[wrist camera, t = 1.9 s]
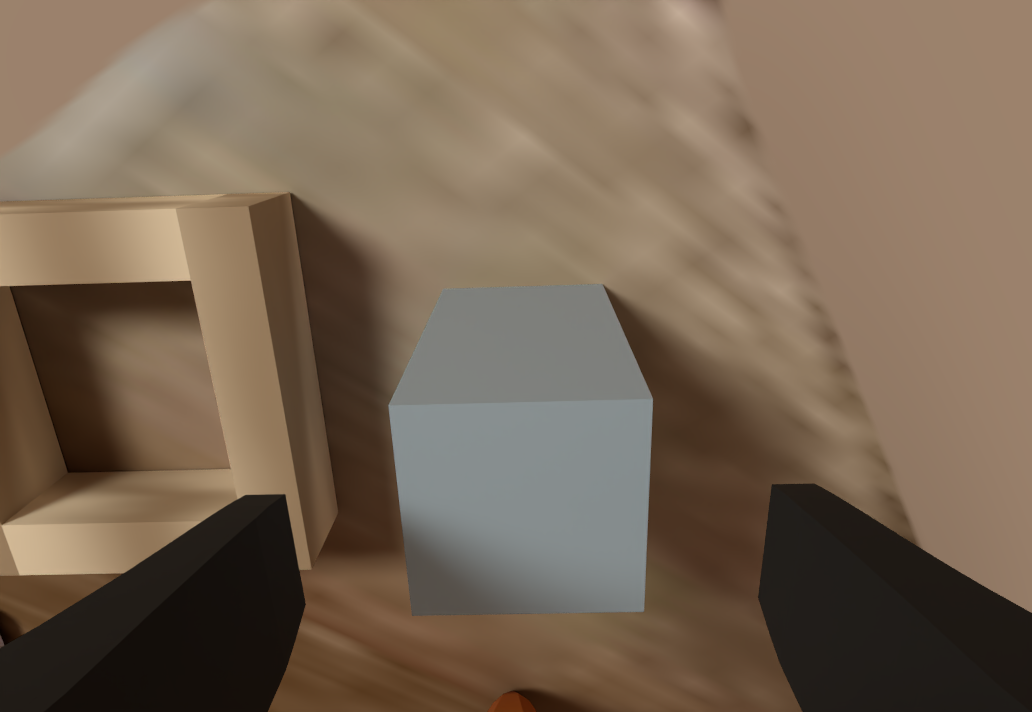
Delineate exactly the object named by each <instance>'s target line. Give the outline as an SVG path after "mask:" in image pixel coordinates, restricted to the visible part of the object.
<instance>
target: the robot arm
mask: <svg viewBox="0 0 1032 712" xmlns="http://www.w3.org/2000/svg"><path fill="white" fill-rule="evenodd" d="M758 598H759V602H760V605H761V608H762V611H763V614H764V617H765V620H766V624H767V627H768V630H769V633H770V636H771V639H772V642H773V645H774V648H775V650H776V653H777V656H778V659H779V662H780V664H781V667H782V669H783V671H784V673H785V675H786V677H787V680H788V682H789V684H790V686H791V688H792V690H793V692H794V695H795V697H796V699H797V701H798V703H799V705H800V707H801V709H802V711H803V712H1032V613H1031V612H1029V611H1027V610H1025V609H1024V608H1022V607H1020V606H1018V605H1016V604H1014V603H1013V602H1011V601H1009V600H1007V599H1006V598H1004V597H1002V596H1000V595H998V594H997V593H995V592H993V591H991V590H989V589H988V588H986V587H984V586H982V585H981V584H979V583H977V582H976V581H974V580H972V579H971V578H969V577H967V576H965V575H964V574H962V573H960V572H958V571H957V570H955V569H954V568H952V567H950V566H949V565H947V564H945V563H944V562H942V561H940V560H939V559H937V558H935V557H934V556H932V555H931V554H929V553H927V552H926V551H924V550H922V549H921V548H919V547H918V546H916V545H914V544H913V543H911V542H910V541H908V540H906V539H905V538H903V537H902V536H900V535H898V534H897V533H895V532H894V531H892V530H890V529H889V528H887V527H886V526H884V525H883V524H881V523H879V522H878V521H876V520H875V519H873V518H871V517H870V516H868V515H867V514H865V513H863V512H862V511H860V510H859V509H857V508H855V507H854V506H852V505H851V504H849V503H847V502H846V501H844V500H842V499H841V498H839V497H837V496H836V495H834V494H832V493H831V492H829V491H827V490H825V489H823V488H822V487H820V486H818V485H816V484H772V487H771V496H770V504H769V512H768V521H767V529H766V537H765V546H764V554H763V562H762V571H761V579H760V587H759V596H758ZM305 605H306V604H305V598H304V593H303V587H302V582H301V577H300V571H299V566H298V560H297V555H296V549H295V544H294V538H293V533H292V528H291V522H290V517H289V511H288V506H287V500H286V495H285V494H265V495H244V496H242V497H241V498H239V499H237V500H235V501H233V502H232V503H230V504H228V505H227V506H225V507H223V508H222V509H220V510H219V511H217V512H216V513H214V514H212V515H211V516H209V517H208V518H206V519H205V520H203V521H202V522H200V523H199V524H197V525H196V526H194V527H193V528H191V529H190V530H188V531H187V532H185V533H184V534H182V535H181V536H179V537H178V538H176V539H175V540H173V541H172V542H170V543H169V544H167V545H166V546H164V547H163V548H161V549H160V550H158V551H157V552H155V553H154V554H152V555H151V556H149V557H148V558H146V559H145V560H143V561H142V562H140V563H139V564H137V565H136V566H134V567H133V568H131V569H130V570H128V571H127V572H125V573H123V574H122V575H120V576H119V577H117V578H116V579H114V580H112V581H111V582H109V583H108V584H106V585H104V586H103V587H101V588H100V589H98V590H96V591H95V592H93V593H91V594H90V595H88V596H87V597H85V598H83V599H82V600H80V601H78V602H77V603H75V604H74V605H72V606H70V607H69V608H67V609H66V610H64V611H62V612H61V613H59V614H57V615H56V616H54V617H53V618H51V619H49V620H48V621H46V622H44V623H43V624H41V625H40V626H38V627H36V628H34V629H33V630H31V631H29V632H27V633H26V634H24V635H22V636H21V637H19V638H17V639H15V640H13V641H12V642H10V643H8V644H6V645H4V643H3V640H2V638H1V635H0V712H268V710H269V707H270V705H271V703H272V701H273V698H274V696H275V694H276V691H277V689H278V687H279V685H280V682H281V680H282V678H283V675H284V673H285V671H286V668H287V665H288V662H289V658H290V655H291V652H292V649H293V646H294V643H295V640H296V636H297V633H298V629H299V626H300V622H301V619H302V615H303V612H304V608H305Z"/></svg>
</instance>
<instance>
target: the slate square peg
mask: <svg viewBox="0 0 1032 712" xmlns="http://www.w3.org/2000/svg"><path fill="white" fill-rule="evenodd" d="M388 406H389V415H390V424H391V433H392V442H393V451H394V460H395V468H396V477H397V486H398V495H399V504H400V513H401V522H402V531H403V539H404V548H405V557H406V566H407V575H408V584H409V593H410V602H411V610H412V616H423V615H483V614H543V613H603V612H644V600H645V576H646V553H647V529H648V506H649V482H650V459H651V435H652V412H653V398H652V395H651V393H650V391H649V389H648V386H647V384H646V382H645V380H644V377H643V375H642V373H641V370H640V368H639V366H638V364H637V361H636V359H635V357H634V355H633V352H632V350H631V348H630V346H629V343H628V341H627V339H626V336H625V334H624V332H623V330H622V327H621V325H620V323H619V321H618V318H617V316H616V314H615V312H614V309H613V307H612V305H611V302H610V300H609V298H608V296H607V293H606V291H605V289H604V287H603V284H588V285H555V286H522V287H488V288H455V289H443V291H442V293H441V295H440V297H439V299H438V301H437V303H436V306H435V308H434V310H433V312H432V314H431V316H430V318H429V320H428V323H427V325H426V327H425V329H424V331H423V333H422V335H421V337H420V340H419V342H418V344H417V346H416V348H415V350H414V352H413V354H412V357H411V359H410V361H409V363H408V365H407V367H406V369H405V371H404V374H403V376H402V378H401V380H400V382H399V384H398V386H397V388H396V391H395V393H394V395H393V397H392V399H391V401H390V403H389V405H388Z"/></svg>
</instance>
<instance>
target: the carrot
mask: <svg viewBox="0 0 1032 712" xmlns="http://www.w3.org/2000/svg"><path fill="white" fill-rule="evenodd" d="M487 712H537V711H536V710H535V708H534V707H533V705H532V704H531V702H530V701H529V700H528V699H526V698H525V697H523V696H522V695H520V694H518V693H516V692H514V691H510V692H507V693H505V694H503V695H502V696H500V697H499V698H498V699H497V700H496V701H495V702H494V703H493V704H492V706H491V707H490V709H489V710H488V711H487Z"/></svg>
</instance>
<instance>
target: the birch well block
mask: <svg viewBox="0 0 1032 712" xmlns="http://www.w3.org/2000/svg"><path fill="white" fill-rule="evenodd" d="M157 281H191V283H192V288H193V293H194V298H195V302H196V307H197V312H198V316H199V321H200V326H201V330H202V335H203V340H204V344H205V349H206V354H207V359H208V363H209V368H210V373H211V377H212V382H213V387H214V391H215V396H216V401H217V406H218V410H219V415H220V420H221V424H222V429H223V434H224V438H225V443H226V448H227V452H228V457H229V462H230V467H231V469H213V470H169V471H125V472H81V473H68V472H67V469H66V465H65V462H64V459H63V456H62V453H61V449H60V446H59V443H58V440H57V437H56V433H55V430H54V427H53V424H52V421H51V418H50V414H49V411H48V408H47V405H46V402H45V398H44V395H43V392H42V389H41V386H40V382H39V379H38V376H37V373H36V370H35V367H34V363H33V360H32V357H31V354H30V351H29V347H28V344H27V341H26V338H25V335H24V331H23V328H22V325H21V322H20V319H19V316H18V312H17V309H16V306H15V303H14V300H13V296H12V293H11V290H10V287H9V286H24V285H57V284H91V283H124V282H157ZM265 494H285V495H286V500H287V506H288V511H289V517H290V522H291V528H292V533H293V538H294V544H295V549H296V555H297V560H298V566H299V570H312V568H313V566H314V564H315V561H316V559H317V557H318V555H319V553H320V551H321V549H322V546H323V544H324V542H325V540H326V538H327V536H328V534H329V531H330V529H331V527H332V525H333V523H334V521H335V519H336V516H337V514H338V507H337V501H336V494H335V487H334V481H333V474H332V468H331V461H330V454H329V448H328V441H327V434H326V428H325V421H324V415H323V408H322V401H321V395H320V388H319V382H318V375H317V368H316V362H315V355H314V349H313V342H312V335H311V329H310V322H309V316H308V309H307V302H306V296H305V289H304V283H303V276H302V269H301V263H300V256H299V250H298V243H297V236H296V230H295V223H294V217H293V210H292V203H291V197H290V192H277V193H247V194H217V195H187V196H157V197H127V198H97V199H67V200H37V201H7V202H0V575H53V574H107V573H125V572H127V571H128V570H130V569H131V568H133V567H134V566H136V565H137V564H139V563H140V562H142V561H143V560H145V559H146V558H148V557H149V556H151V555H152V554H154V553H155V552H157V551H158V550H160V549H161V548H163V547H164V546H166V545H167V544H169V543H170V542H172V541H173V540H175V539H176V538H178V537H179V536H181V535H182V534H184V533H185V532H187V531H188V530H190V529H191V528H193V527H194V526H196V525H197V524H199V523H200V522H202V521H203V520H205V519H206V518H208V517H209V516H211V515H212V514H214V513H216V512H217V511H219V510H220V509H222V508H223V507H225V506H227V505H228V504H230V503H232V502H233V501H235V500H237V499H239V498H241V497H242V496H244V495H265Z"/></svg>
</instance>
